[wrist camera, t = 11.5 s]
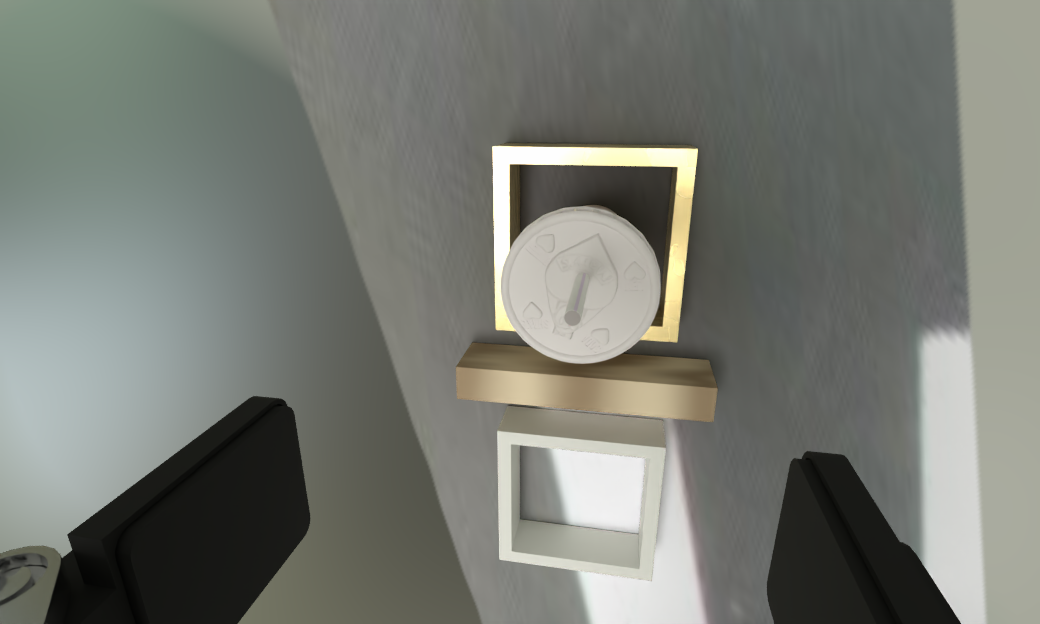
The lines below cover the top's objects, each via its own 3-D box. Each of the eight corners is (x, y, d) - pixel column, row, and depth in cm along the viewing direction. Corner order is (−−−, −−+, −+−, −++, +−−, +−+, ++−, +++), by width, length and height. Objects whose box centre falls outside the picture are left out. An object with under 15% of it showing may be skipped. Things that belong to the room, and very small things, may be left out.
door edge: (708, 359, 32) (717, 388, 29) (704, 391, 32) (713, 422, 29) (472, 342, 34) (455, 366, 31) (473, 371, 35) (457, 398, 32)
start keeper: (662, 420, 34) (665, 448, 31) (649, 545, 37) (651, 580, 34) (507, 405, 35) (497, 431, 32) (508, 527, 38) (499, 559, 36)
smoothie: (670, 200, 29) (704, 274, 16) (627, 308, 32) (627, 447, 19) (555, 163, 30) (499, 206, 17) (521, 272, 32) (449, 383, 19)
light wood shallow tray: (691, 145, 28) (698, 149, 25) (672, 321, 31) (677, 342, 29) (505, 142, 30) (492, 146, 27) (506, 311, 33) (495, 329, 30)
